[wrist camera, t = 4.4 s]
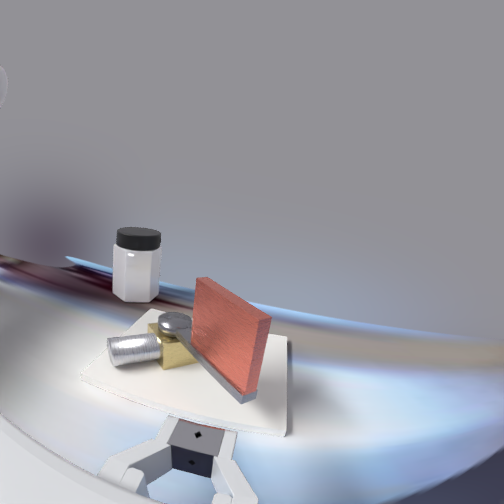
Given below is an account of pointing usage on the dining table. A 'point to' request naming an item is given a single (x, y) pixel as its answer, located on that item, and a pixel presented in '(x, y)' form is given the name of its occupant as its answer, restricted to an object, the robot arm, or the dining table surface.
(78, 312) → the dining table surface
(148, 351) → the valve body
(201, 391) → the mounting plate
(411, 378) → the dining table surface
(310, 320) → the dining table surface
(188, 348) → the lever
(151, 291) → the jar
